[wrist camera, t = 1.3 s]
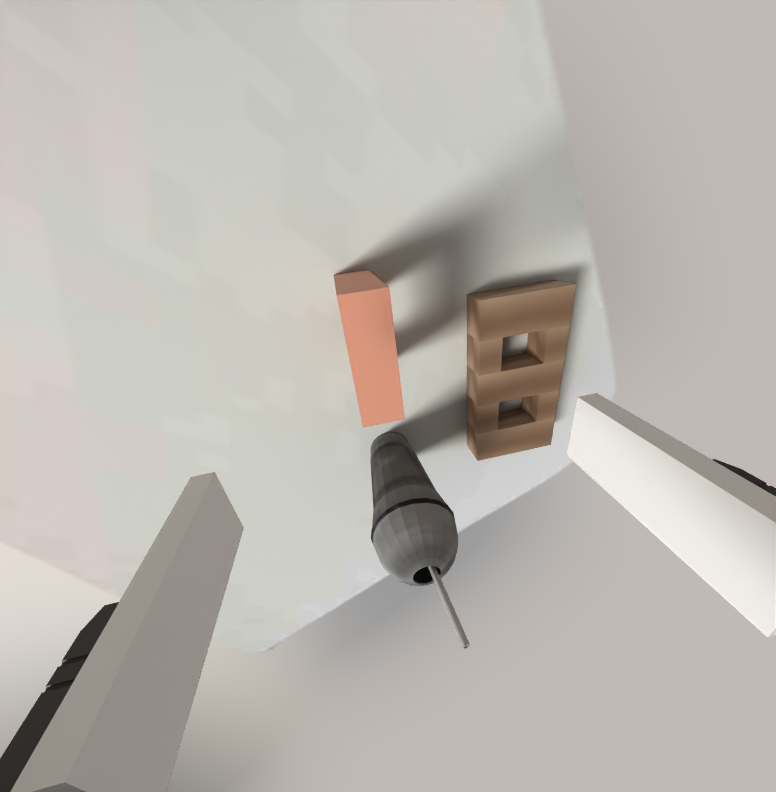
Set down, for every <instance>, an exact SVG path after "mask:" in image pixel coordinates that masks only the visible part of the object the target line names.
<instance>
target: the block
mask: <svg viewBox="0 0 776 792" xmlns="http://www.w3.org/2000/svg"><path fill="white" fill-rule="evenodd" d="M334 280H335V287H336V293H337V299H338V304H339V309H340V314H341V319H342V324H343V329H344V334H345V339H346V344H347V349H348V354H349V359H350V364H351V369H352V374H353V379H354V384H355V389H356V394H357V399H358V404H359V410H360V415H361V420H362V425H363V427H368V426H373V425H378V424H382V423H387V422H392V421H397V420H402V419H405V417H404V409H403V400H402V392H401V383H400V375H399V366H398V358H397V349H396V341H395V332H394V324H393V316H392V307H391V299H390V290H389V287H388V286H387V285H386V284H385V283H384V282H382V281H381V280H380V279H379V278H377V277H376V276H375V275H374V274H373V273H371V272H370V271H369V270H363V271H357V272H350V273H344V274H338V275H334Z"/></svg>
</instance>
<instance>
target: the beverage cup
mask: <svg viewBox="0 0 776 792" xmlns="http://www.w3.org/2000/svg"><path fill="white" fill-rule="evenodd" d="M371 475H372V491H373V507H374V511H373V526H372V532H371V540H372V542H373V545H374V547H375V550H376V552H377V555H378V557H379V559H380V562H381V564H382V565H383V567H384V568H385V569H386V570H387V571H388V572H389V573H390V574H391V575H392V576H393V577H394V578H396V579H397V580H398V581H400V582H403V583H406V584H408V585H414V586H425V585H429V584H432V583H434V582H435V585H436V587H437V589H438V592H439V594H440V596H441V598H442V601H443V603H444V605H445V608H446V610H447V613H448V615H449V618H450V620H451V622H452V625H453V627H454V629H455V632H456V634H457V636H458V639H459V641H460V643H461V646H462V648H463V649H466V648H468V647H469V646H470V644H469V642H468V639H467V637H466V635H465V633H464V630H463V628H462V626H461V624H460V621H459V619H458V617H457V615H456V612H455V610H454V608H453V606H452V603H451V601H450V599H449V597H448V594H447V592H446V590H445V587H444V585H443V583H442V581H441V578H442V577H443V576H444V575H445V574H446V573H447V572H448V570H449V569H450V567H451V566H452V564H453V562H454V560H455V557H456V553H457V548H458V534H457V529H456V524H455V519H454V514H453V512H452V510H451V509H450V508H449V506H448V505H447V504H446V503H445V502H444V500H443V499H442V498H441V496H440V495H439V494H438V493H437V491H436V490H435V488H434V486H433V484H432V483H431V481H430V479H429V477H428V475H427V474H426V472H425V470H424V468H423V466H422V465H421V463H420V461H419V459H418V457H417V456H416V454H415V452H414V450H413V448H412V447H411V446H410V444H409V443H408V441H407V439H406V438H405V437H404V436H403V435H401V434H399V433H395V432H388V433H385V434H382V435H380V436H379V437H377V438H376V439H375V440H374V441H373V443H372V445H371Z"/></svg>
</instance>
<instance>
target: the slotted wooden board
mask: <svg viewBox="0 0 776 792" xmlns="http://www.w3.org/2000/svg"><path fill="white" fill-rule="evenodd" d="M575 290H576V284H574V283H568V282H563V281H558V280H551V281H545V282H539V283H533V284H527V285H521V286H515V287H509V288H504V289H498V290H492V291H486V292H480V293H474V294H468V295H467V446H468V447H469V449H470V450H471V452H472V453H473V455H474V456H475V457H476V459H477V460H478V461H479V460H483V459H488V458H492V457H497V456H501V455H506V454H510V453H515V452H519V451H524V450H529V449H533V448H538V447H542V446H547V445H551V440H552V434H553V427H554V421H555V415H556V409H557V402H558V396H559V390H560V384H561V377H562V371H563V365H564V359H565V352H566V346H567V340H568V334H569V328H570V321H571V315H572V309H573V303H574V296H575ZM525 333H528V343H527V353H526V354H521V355H516V356H511V357H505V358H502V344H503V337H509V336H514V335H519V334H525ZM518 398H522V406H521V409H517V410H512V411H507V412H502V413H499V402H504V401H508V400H513V399H518Z"/></svg>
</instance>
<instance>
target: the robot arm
mask: <svg viewBox="0 0 776 792" xmlns="http://www.w3.org/2000/svg"><path fill="white" fill-rule="evenodd" d="M567 456H568V457H569V458H571V459H572V460H573V461H574V462H575V463H576V464H577V465H578V466H580V468H582V469H583V470H584V471H585V472H586V473H587V474H588V475H589V476H590V477H592V478H593V479H594V480H595V481H596V482H597V483H598V484H599V485H600V486H602V488H604V489H605V490H606V491H607V492H608V493H609V494H610V495H611V496H612V497H614V498H615V499H616V500H617V501H618V502H619V503H620V504H621V505H622V506H623V507H625V508H626V509H627V510H628V511H629V512H630V513H631V514H632V515H634V517H636V518H637V519H638V520H639V521H640V522H641V523H642V524H643V525H644V526H645V527H647V528H648V529H649V530H650V531H651V532H652V533H653V534H654V535H655V536H656V537H658V538H659V539H660V540H661V541H662V542H663V543H664V544H665V545H666V546H668V547H669V548H670V549H671V550H672V551H673V552H674V553H675V554H676V555H677V556H678V557H680V558H681V559H682V560H683V561H684V562H685V563H686V564H687V565H688V566H690V567H691V568H692V569H693V570H694V571H695V572H696V573H697V574H698V575H699V576H700V577H702V578H703V579H704V580H705V581H706V582H707V583H708V584H709V585H710V586H711V587H713V588H714V589H715V590H716V591H717V592H718V593H719V594H720V595H721V596H722V597H724V598H725V599H726V600H727V601H728V602H729V603H730V604H731V605H732V606H733V607H735V608H736V609H737V610H738V611H739V612H740V613H741V614H742V615H743V616H744V617H746V618H747V619H748V620H749V621H750V622H751V623H752V624H753V625H754V626H755V627H757V628H758V629H759V630H760V631H761V632H762V633H763V634H764V635H766V636H767V637H770V636H774V635H776V488H774V487H772V486H767V485H766V483H765V482H764V481H762V480H760V479H758V478H756V477H754V476H753V475H751V474H749V473H747V472H746V471H744V470H742V469H739V468H737V467H734V466H731V465H729V464H726V463H724V462H721V461H718V460H715V459H714V460H711V459H709V458H708V457H706V456H705V455H703V454H701V453H699V452H698V451H696V450H694V449H692V448H691V447H689V446H687V445H685V444H684V443H682V442H680V441H679V440H677V439H675V438H673V437H672V436H670V435H668V434H666V433H665V432H663V431H661V430H659V429H658V428H656V427H654V426H653V425H651V424H649V423H647V422H645V421H644V420H642V419H640V418H639V417H637V416H635V415H634V414H632V413H630V412H628V411H626V410H625V409H623V408H621V407H620V406H618V405H616V404H614V403H613V402H611V401H609V400H608V399H606V398H604V397H602V396H601V395H599V394H597V393H596V394H591V395H586V396H581V397H578V399H577V404H576V410H575V415H574V420H573V425H572V430H571V436H570V441H569V446H568V451H567ZM242 532H243V526H242V524H241V522H240V520H239V518H238V516H237V514H236V512H235V510H234V508H233V506H232V504H231V502H230V501H229V499H228V497H227V495H226V493H225V491H224V489H223V487H222V485H221V483H220V481H219V479H218V477H217V475H216V474H215V472H214V473H209V474H204V475H199V476H195V477H191V478H190V480H189V482H188V483H187V485H186V487H185V489H184V490H183V492H182V494H181V495H180V497H179V499H178V501H177V502H176V504H175V506H174V508H173V509H172V511H171V513H170V515H169V516H168V518H167V520H166V522H165V523H164V525H163V527H162V529H161V530H160V532H159V534H158V536H157V537H156V539H155V541H154V543H153V544H152V546H151V548H150V549H149V551H148V553H147V555H146V556H145V558H144V560H143V562H142V563H141V565H140V567H139V569H138V570H137V572H136V574H135V576H134V577H133V579H132V581H131V583H130V584H129V586H128V588H127V590H126V591H125V593H124V595H123V597H122V598H121V600H120V602H117V603H113V604H109V605H105V606H104V607H103V608H102V609H101V610H100V611H99V612H98V613H97V614H96V615H95V616H94V618H93V619H92V620H91V621H90V622H89V623H88V624H87V625H86V626H85V627H84V628H83V630H81V631H80V633H79V635H78V636H77V638H76V639H75V641H74V643H73V644H72V646H71V647H70V649H69V650H68V652H67V654H66V655H65V657H64V658H63V660H62V665H61V666H60V667H58V668H57V670H56V671H55V673H54V674H53V676H52V677H51V679H50V681H49V682H48V684H47V685H46V691H45V692H44V693H41V695H40V697H39V698H38V700H37V701H36V703H35V704H34V706H33V708H32V709H31V711H30V712H29V714H28V716H27V717H26V719H25V721H24V722H23V723H22V725H21V727H20V728H19V730H18V732H17V733H16V735H15V736H14V738H13V739H12V741H11V743H10V744H9V746H8V747H7V749H6V751H5V752H4V754H3V755H2V757H1V758H0V792H167V788H168V785H169V782H170V778H171V775H172V771H173V768H174V764H175V761H176V758H177V754H178V751H179V747H180V744H181V740H182V737H183V733H184V730H185V726H186V723H187V720H188V716H189V713H190V710H191V706H192V703H193V699H194V696H195V693H196V689H197V686H198V682H199V679H200V675H201V672H202V668H203V665H204V662H205V658H206V655H207V651H208V648H209V645H210V641H211V638H212V634H213V631H214V628H215V624H216V621H217V617H218V614H219V610H220V607H221V604H222V600H223V597H224V593H225V590H226V586H227V583H228V580H229V576H230V573H231V569H232V566H233V562H234V559H235V556H236V552H237V549H238V545H239V542H240V538H241V535H242Z"/></svg>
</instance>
